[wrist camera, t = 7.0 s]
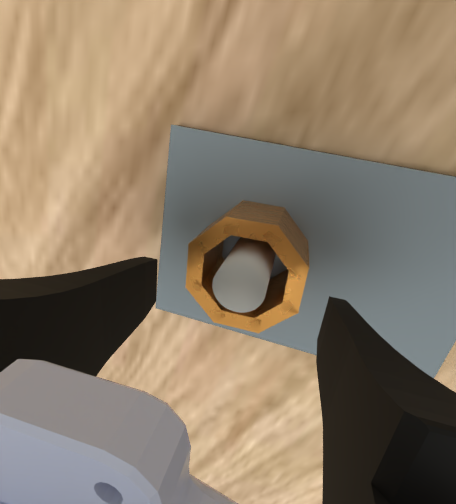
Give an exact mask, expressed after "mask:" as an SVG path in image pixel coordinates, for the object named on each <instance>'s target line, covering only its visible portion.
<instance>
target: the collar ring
mask: <svg viewBox="0 0 456 504" xmlns="http://www.w3.org/2000/svg"><path fill="white" fill-rule="evenodd" d="M230 235H233V236H238V237H244V238H249V239H254V240H260V241H265V242H268V243H269V245H270V246H271V247H272V249H273V250H274V251H275V253H276V254H277V256H278V257H279V258H280V260H281V261H282V262H283V264H284V265H285V266H286V268H287V270H285V271H283V272H282V273H280V274H278V275H277V276H275V277H273V278H272V279H270V280H269V284H268V287H267V291H266V295H265V299H264V301H263V302H262V304H261V305H260V306H259V307H258V308H256V309H255V310H253V311H250V312H245V313H240V312H234V311H231V310H229V309H227V308H225V307H224V306H223V305H221V304H220V303H219V301H218V300H217V299H216V297H215V295H214V292H213V288H212V283H213V278H214V276H215V274H216V273H217V271H218V270H219V268H220V267H221V265H222V264H223V262H224V261H225V260H224V258H223V257H222V251H223V242H224V240H225V239H226V238H228V237H229V236H230ZM308 270H309V247H308V240H307V239H306V237H305V236H304V234H303V233H302V232H301V230H300V229H299V227H298V226H297V225H296V223H295V222H294V220H293V219H292V218H291V216H290V215H289V213H288V212H287V211H286V209H285V207H280V206H274V205H268V204H262V203H256V202H250V201H244V200H242V201H241V202H240V203H239V204H238V205H236V206H235V207H234V208H232V209H231V210H229V211H228V212H227V213H225V214H224V215H223V216H221V217H220V218H219V219H217V220H216V221H215V222H213V223H211V224H210V225H209V226H208V227H207V228H206V229H205V230H203V231H202V232H201V233H200V234H199V235H198V236H197V237H195V238H194V239H193V240H192V241H191V242H190V243H189V244H188V259H187V273H186V286H185V287H186V289H187V290H188V291H189V292H190V294H191V295H192V296H193V297H194V299H195V300H196V301H197V302H198V304H199V305H200V306H201V307H202V308H203V310H204V311H205V312H206V313H207V315H208V316H209V317H210V318H211V320H212V321H213V322H214V323H218V324H222V325H227V326H231V327H235V328H239V329H243V330H247V331H251V332H255V333H260V332H262V331H264V330H266V329H268V328H270V327H272V326H274V325H276V324H277V323H279V322H281V321H283V320H285V319H287V318H289V317H291V316H293V315H295V314H298V313H299V307H300V303H301V299H302V295H303V291H304V287H305V282H306V278H307V274H308Z"/></svg>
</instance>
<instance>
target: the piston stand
mask: <svg viewBox="0 0 456 504" xmlns="http://www.w3.org/2000/svg"><path fill="white" fill-rule="evenodd" d="M242 200H244V201H250V202H256V203H262V204H268V205H274V206H280V207H285V209H286V211H287V212H288V213H289V215H290V216H291V218H292V219H293V220H294V222H295V223H296V225H297V226H298V227H299V229H300V230H301V232H302V233H303V234H304V236H305V237H306V239H307V240H308V247H309V270H308V274H307V278H306V282H305V287H304V291H303V295H302V299H301V303H300V307H299V313H298V314H295V315H293V316H291V317H289V318H287V319H285V320H283V321H281V322H279V323H277V324H276V325H274V326H272V327H270V328H268V329H266V330H264V331H262V332H260V333H255V332H251V331H247V330H243V329H239V328H235V327H231V326H227V325H222V324H218V323H214V322H213V321H212V320H211V318H210V317H209V316H208V315H207V313H206V312H205V311H204V310H203V308H202V307H201V306H200V305H199V304H198V302H197V301H196V300H195V299H194V297H193V296H192V295H191V294H190V292H189V291H188V290H187V289H186V287H185V286H186V273H187V259H188V244H189V243H190V242H191V241H192V240H193V239H194V238H195V237H197V236H198V235H199V234H200V233H201V232H202V231H203V230H205V229H206V228H207V227H208V226H209V225H210V224H211V223H213V222H215V221H216V220H217V219H219V218H220V217H221V216H223V215H224V214H225V213H227V212H228V211H229V210H231V209H232V208H234V207H235V206H236V205H238V204H239V203H240V202H241V201H242ZM222 257H223V258H224V260H225V261H224V262H223V264H222V265H221V267H220V268H219V270H218V271H217V273H216V274H215V276H214V278H213V283H212V288H213V292H214V295H215V297H216V299H217V300H218V301H219V303H220V304H221V305H223V306H224V307H225V308H227V309H229V310H231V311H234V312H240V313H245V312H250V311H253V310H255V309H256V308H258V307H259V306H260V305H261V304H262V302H263V301H264V299H265V295H266V291H267V287H268V284H269V280H270V279H272V278H273V277H275V276H277V275H278V274H280V273H282V272H283V271H285V270H287V268H286V266H285V265H284V264H283V262H282V261H281V260H280V258H279V257H278V256H277V254H276V253H275V251H274V250H273V249H272V247H271V246H270V245H269V243H268V242H265V241H260V240H254V239H249V238H244V237H238V236H233V235H230V236H229V237H228V238H226V239H225V240H224V242H223V251H222ZM329 296H330V297H334V298H339V299H344V300H346V301H347V302H349V303H350V304H351V306H352V307H353V308H354V309H355V310H356V311H357V312H358V313H359V314H360V315H361V316H362V317H363V319H364V320H365V321H366V322H367V323H368V324H369V325H370V326H371V327H372V328H373V329H374V330H375V331H376V332H377V333H378V334H379V335H380V336H381V337H382V338H383V339H384V340H385V341H387V342H388V343H389V344H390V345H391V346H392V347H393V348H394V349H395V350H397V351H398V352H399V353H400V354H401V355H403V356H404V357H405V358H406V359H408V360H409V361H410V362H412V363H413V364H414V365H415V366H417V367H418V368H419V369H421V370H422V371H424V372H425V373H426V374H428V375H429V376H431V377H432V378H434V377H435V376H436V374H437V372H438V370H439V369H440V367H441V365H442V363H443V362H444V360H445V358H446V357H447V355H448V353H449V351H450V350H451V348H452V346H453V344H454V343H455V341H456V177H454V176H449V175H444V174H438V173H433V172H427V171H422V170H416V169H411V168H406V167H400V166H395V165H389V164H384V163H378V162H373V161H368V160H362V159H357V158H351V157H346V156H340V155H335V154H330V153H324V152H319V151H313V150H308V149H302V148H297V147H292V146H286V145H281V144H275V143H270V142H264V141H259V140H254V139H248V138H243V137H237V136H232V135H226V134H221V133H216V132H210V131H205V130H199V129H194V128H188V127H183V126H177V125H171V132H170V144H169V156H168V168H167V179H166V191H165V203H164V215H163V227H162V239H161V250H160V262H159V274H158V286H157V298H156V308H157V309H161V310H164V311H168V312H171V313H174V314H178V315H181V316H185V317H188V318H191V319H195V320H198V321H202V322H205V323H208V324H212V325H215V326H219V327H222V328H226V329H229V330H232V331H236V332H239V333H243V334H246V335H249V336H253V337H256V338H260V339H263V340H266V341H270V342H273V343H277V344H280V345H283V346H287V347H290V348H294V349H297V350H301V351H304V352H307V353H311V354H314V355H317V338H318V335H319V331H320V328H321V324H322V320H323V317H324V313H325V310H326V306H327V303H328V299H329Z"/></svg>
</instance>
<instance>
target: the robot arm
mask: <svg viewBox="0 0 456 504" xmlns="http://www.w3.org/2000/svg"><path fill="white" fill-rule="evenodd" d="M156 290H157V259H152V258H148V257H138V258H133V259H128V260H124V261H120V262H116V263H112V264H108V265H104V266H100V267H96V268H91V269H87V270H82V271H78V272H72V273H67V274H60V275H53V276H45V277H33V278H21V279H0V504H238V503H236V502H235V501H233V500H231V499H230V498H228V497H226V496H225V495H223V494H222V493H220V492H218V491H217V490H215V489H213V488H212V487H210V486H208V485H207V484H205V483H204V482H202V481H200V480H199V479H197V478H195V477H194V476H192V475H191V474H189V460H190V450H191V445H190V441H189V437H188V433H187V429H186V425H185V424H184V422H183V421H182V420H181V418H180V417H179V416H178V415H177V414H176V413H175V412H174V410H173V409H172V408H171V407H170V406H169V405H168V404H167V403H166V402H164V401H162V400H160V399H158V398H156V397H154V396H152V395H150V394H148V393H147V392H145V391H141V390H138V389H135V388H132V387H128V386H125V385H122V384H118V383H115V382H112V381H109V380H105V379H102V378H99V377H96V376H97V374H98V373H99V371H100V370H101V369H102V367H103V366H104V364H105V363H106V362H107V361H108V359H109V358H110V357H111V356H112V355H113V354H114V352H115V351H116V350H117V349H118V348H119V347H120V346H121V345H122V343H123V342H124V341H125V340H126V339H127V338H128V337H129V336H130V335H131V333H132V332H133V331H134V330H135V329H136V328H137V327H138V326H139V324H140V323H141V322H142V321H143V320H144V319H145V317H146V316H147V314H148V313H149V311H150V310H151V308H152V307H153V305H154V303H155V302H156ZM316 362H317V372H318V382H319V391H320V399H321V408H322V419H323V504H456V393H455V392H454V391H452V390H450V389H449V388H447V387H446V386H444V385H443V384H441V383H440V382H438V381H437V380H435V379H434V378H432V377H431V376H429V375H428V374H426V373H425V372H424V371H422V370H421V369H419V368H418V367H417V366H415V365H414V364H413V363H412V362H410V361H409V360H408V359H406V358H405V357H404V356H403V355H401V354H400V353H399V352H398V351H397V350H395V349H394V348H393V347H392V346H391V345H390V344H389V343H388V342H387V341H385V340H384V339H383V338H382V337H381V336H380V335H379V334H378V333H377V332H376V331H375V330H374V329H373V328H372V327H371V326H370V325H369V324H368V323H367V322H366V321H365V320H364V319H363V317H362V316H361V315H360V314H359V313H358V312H357V311H356V310H355V309H354V308H353V307H352V306H351V304H350V303H349V302H347V301H346V300H344V299H339V298H334V297H330V296H329V299H328V303H327V306H326V310H325V313H324V317H323V320H322V324H321V328H320V331H319V335H318V338H317V360H316Z"/></svg>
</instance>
